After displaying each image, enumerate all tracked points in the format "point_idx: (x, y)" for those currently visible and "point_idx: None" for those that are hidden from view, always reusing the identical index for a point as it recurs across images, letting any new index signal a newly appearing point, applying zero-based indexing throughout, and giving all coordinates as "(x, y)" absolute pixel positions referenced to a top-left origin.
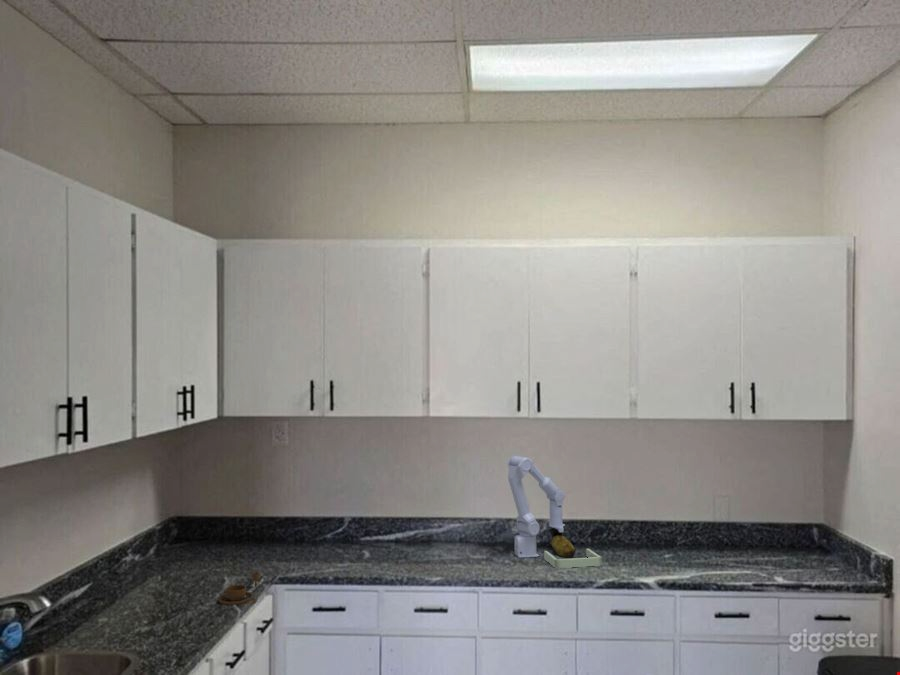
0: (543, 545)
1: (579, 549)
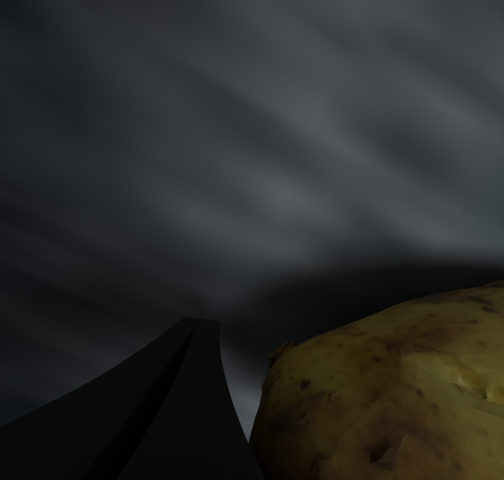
0: (6, 340)
1: (254, 48)
